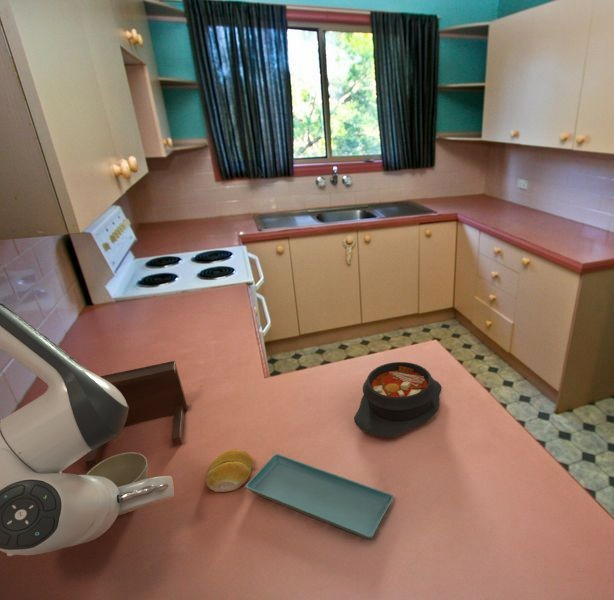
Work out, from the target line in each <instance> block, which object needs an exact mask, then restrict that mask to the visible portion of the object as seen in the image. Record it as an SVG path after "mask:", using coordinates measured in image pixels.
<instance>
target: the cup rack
mask: <svg viewBox="0 0 614 600" xmlns="http://www.w3.org/2000/svg"><path fill="white" fill-rule="evenodd" d="M98 376H99V377H101V378H103V379H105V380H106V381H108V382H109V383H111V384H112V385H113V386H115V387H116V388H117V389H118V390H119V391H120V392H121V394H122V395H123V397H124V398H125V400H126V403H127V404H128V406H129V410H128V415H127V419H126V422H125V424H124V427H128V426H131V425H134V424H139V423H142V422H147V421H152V420H155V419H160V418H163V417H168V416H171V415H173V420H172V421H173V422H172V431H171V441H172V445H173V447H175V446H179V445H182V444H183V436H184V435H183V434H184V433H183V432H184V420H185V419H184V417H185V412H187V411H189V406H188V402H187V398H186V394H185V391H184V387H183V384H182V381H181V376H180V373H179V370H178V366H177V362H176V360H172V361H167V362H162V363H157V364H152V365H148V366H143V367H138V368H134V369H128V370H124V371H123V370H122V371H119V372H115V373H114V372H113V373H110V374H105V375H98ZM104 446H105V444H103V445H101V446H100V447H98V448H96V449H95V450H91V451H90V452H88V453H87V456H86V459H85V464H86V467H87V470H91V469H92V468H93V467H94V466H96V465H97V464H98V463H100V460H101V457H102V453H103V451H104Z"/></svg>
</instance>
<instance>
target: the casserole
mask: <svg viewBox="0 0 614 600" xmlns="http://www.w3.org/2000/svg"><path fill="white" fill-rule="evenodd" d="M441 392H442V385H441V383H440V382H439V381H437V380H436V379H434V378H433V377H432V375H431V373H430V372H429V371H428V370H427V368H425V367H423V366H421V365H419V364H416V363H413V362H406V361H394V362H387V363H385V364H381V365H380V366H377V367H375V368H374V369H372V370H371V371H370V372H369V374H368V375H367V378H366V379H365V381H364V382H363V385H362V394H363V396H362V397H361V400H360V403H359V407H358V409H357V411H356V413H355V415H354V417H353V421H354V424H355V425H356V426H357V427H358V429H360V430H361V431H363V432H364V433H366V434H369V435H371V436H374V437H379V438H390V439H391V438H395V437H398V436H401V435H402V434H404V433H406V432H407V431H409V430H411V429H413V428H416V427H418V426H421V425H423V424H425V423H427V422H429V421H430V420H432V418H434V416H436V415H437V413H438V411H439V408H440V404H441V403H440V395H441Z"/></svg>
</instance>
